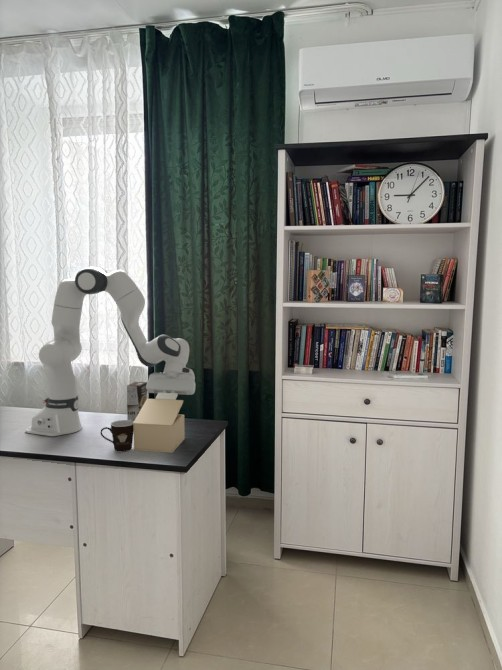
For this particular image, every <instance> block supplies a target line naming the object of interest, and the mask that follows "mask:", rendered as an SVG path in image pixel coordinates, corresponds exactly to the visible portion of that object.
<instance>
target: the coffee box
mask: <svg viewBox="0 0 502 670" xmlns="http://www.w3.org/2000/svg"><path fill="white" fill-rule="evenodd" d="M147 382H148V381H147ZM147 382H146V381H133V382H131V383H130V384H128V385H126V418H127V419H126V420H131V421H133V422H134V421H135V419H136V417H137V415H138V414H139V412H140V410H141V408H142V407H143V405H144V403H145V401H146V400H147V399H148V391H147V389H146V385H147Z"/></svg>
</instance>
